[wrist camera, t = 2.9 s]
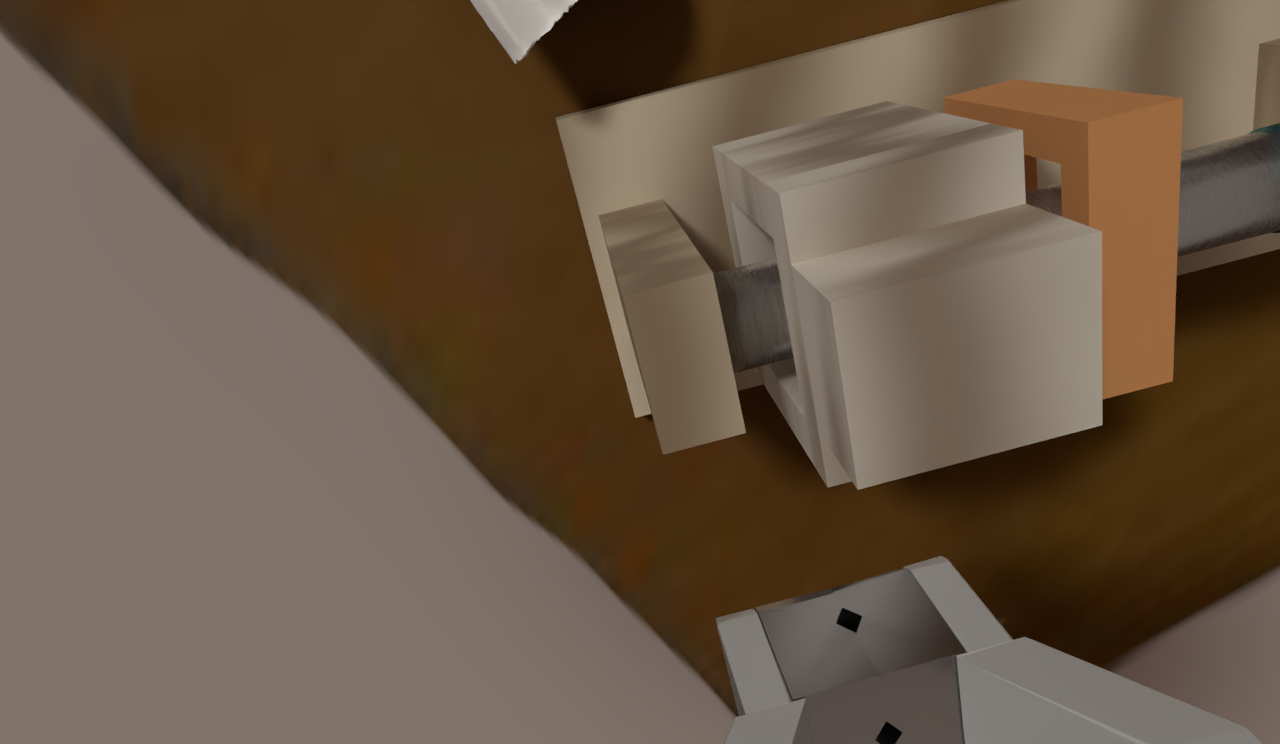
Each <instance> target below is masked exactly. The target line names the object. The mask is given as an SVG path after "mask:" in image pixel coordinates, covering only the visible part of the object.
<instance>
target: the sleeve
mask: <svg viewBox="0 0 1280 744" xmlns="http://www.w3.org/2000/svg"><path fill="white" fill-rule="evenodd" d="M712 148H713V153H714V159H715V164H716V169H717V174H718V179H719V184H720V190H721V195H722V200H723V205H724V210H725V215H726V221H727V226H728V231H729V236H730V241H731V246H732V252H733V257H734V262H735V267H736V268H737V267H741V266H744V265H748V264H752V263H756V262H760V261H764V260H767V259H771V258H775V257H777V263H778V269H779V275H780V281H781V286H782V292H783V298H784V304H785V310H786V316H787V321H788V327H789V333H790V339H791V345H792V351H793V356H794V358H791V359H787V360H783V361H779V362H775V363H771V364H768V365H764V366H760V367H756V368H755V370H756V373H757V374H758V376H759V378H760V379H761V381H762V382H763V384H764V386H765V387H766V389H767V390H768V392H769V394H770V395H771V397H772V398H773V400H774V402H775V403H776V405H777V407H778V408H779V410H780V411H781V413H782V415H783V416H784V418H785V419H786V421H787V423H788V424H789V426H790V428H791V429H792V431H793V432H794V434H795V436H796V437H797V439H798V440H799V442H800V444H801V445H802V447H803V448H804V450H805V452H806V453H807V455H808V457H809V458H810V460H811V461H812V463H813V465H814V466H815V468H816V469H817V471H818V473H819V474H820V476H821V478H822V479H823V481H824V482H825V484H826V486H827V487H832V486H836V485H839V484H843V483H847V482H851V481H852V482H853V483H854V485H855V486H856V488H857V489H862V488H866V487H870V486H874V485H877V484H881V483H885V482H889V481H893V480H896V479H900V478H904V477H908V476H912V475H915V474H919V473H923V472H927V471H931V470H934V469H938V468H942V467H946V466H950V465H953V464H957V463H961V462H965V461H969V460H972V459H976V458H980V457H984V456H987V455H991V454H995V453H999V452H1003V451H1006V450H1010V449H1014V448H1018V447H1022V446H1025V445H1029V444H1033V443H1037V442H1041V441H1044V440H1048V439H1052V438H1056V437H1060V436H1063V435H1067V434H1071V433H1075V432H1079V431H1082V430H1086V429H1090V428H1094V427H1097V426H1101V425H1103V421H1102V231H1100V230H1097V229H1094V228H1092V227H1089V226H1086V225H1083V224H1081V223H1078V222H1075V221H1072V220H1070V219H1067V218H1064V217H1061V216H1059V215H1056V214H1053V213H1050V212H1048V211H1045V210H1042V209H1039V208H1037V207H1034V206H1031V205H1029V204H1026V194H1025V170H1024V145H1023V130H1020V129H1015V128H1010V127H1006V126H1001V125H996V124H992V123H987V122H982V121H978V120H973V119H968V118H964V117H959V116H954V115H950V114H945V113H940V112H936V111H931V110H926V109H922V108H917V107H912V106H908V105H903V104H898V103H894V102H889V101H885V102H881V103H877V104H874V105H870V106H866V107H862V108H858V109H854V110H851V111H847V112H843V113H839V114H835V115H831V116H827V117H824V118H820V119H816V120H812V121H808V122H804V123H800V124H797V125H793V126H789V127H785V128H781V129H777V130H773V131H770V132H766V133H762V134H758V135H754V136H750V137H746V138H743V139H739V140H735V141H731V142H727V143H723V144H719V145H716V146H712Z"/></svg>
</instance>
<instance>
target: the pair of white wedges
mask: <svg viewBox="0 0 1280 744" xmlns="http://www.w3.org/2000/svg"><path fill="white" fill-rule="evenodd" d="M470 1H471V2H472V4H473V5H474V7H475V8H476V10H477V11H478V13H479V14H480V15H481V16H482V18H483V19H484V21H485V22H486V24H487V25H488V27H489V28H490V30H491V31H492V32H493V34H494V35H495V36H496V37H497V39H498V40H499V42H500V43H501V45H502V46H503V47H504V49H505V50H506V51H507V53H508V54H509V56H510V57H511V59H512V60H513V61H514V63H516V62H518V61H519V60H521V59H522V58H523V57H526V56H527V55H528V51H529V50H530V49H531V48H532V47H533V46H534V45H535V43H536V41H537V40H538V41H539V40H540V37H541V36H543V35H544V34H545V33H547V32H548V31H550V30H552V29H551V28H552V27H553V26H554V24H555V22H558V20H559V19H561V18H562V17H563V12H564V13H565V12H568V11H569V8H570V7H572V6H573V5H574V3H575V2H577V1H578V0H470ZM518 63H519V62H518Z"/></svg>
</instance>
